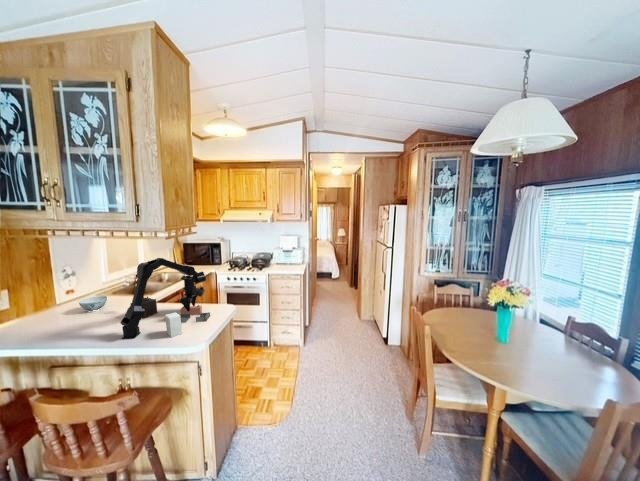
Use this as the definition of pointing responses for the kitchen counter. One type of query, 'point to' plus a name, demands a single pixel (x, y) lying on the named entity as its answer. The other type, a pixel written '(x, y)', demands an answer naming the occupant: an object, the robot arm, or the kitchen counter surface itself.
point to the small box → (173, 324)
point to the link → (192, 310)
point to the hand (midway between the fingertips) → (191, 308)
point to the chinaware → (93, 303)
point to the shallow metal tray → (202, 317)
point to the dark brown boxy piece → (148, 307)
